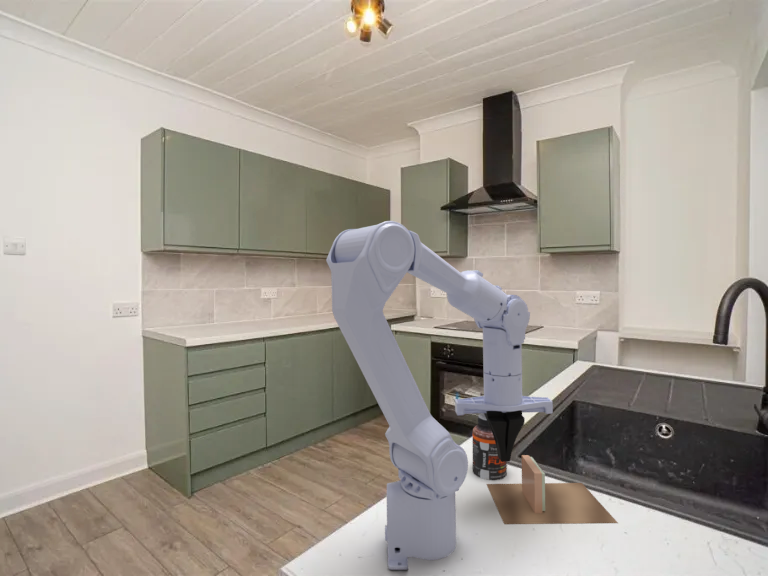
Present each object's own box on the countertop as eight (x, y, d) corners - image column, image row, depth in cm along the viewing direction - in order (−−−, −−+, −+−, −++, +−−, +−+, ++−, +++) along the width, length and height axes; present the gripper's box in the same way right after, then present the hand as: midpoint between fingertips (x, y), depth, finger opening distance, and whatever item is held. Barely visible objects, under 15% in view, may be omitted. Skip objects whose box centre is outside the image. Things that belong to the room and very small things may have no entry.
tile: (534, 513, 60) (534, 473, 60) (522, 491, 66) (521, 455, 66) (545, 513, 60) (545, 473, 60) (531, 491, 66) (531, 455, 66)
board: (504, 532, 58) (504, 523, 58) (486, 490, 69) (486, 483, 69) (618, 531, 57) (618, 522, 57) (581, 489, 68) (581, 482, 68)
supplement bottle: (490, 490, 69) (490, 424, 68) (465, 476, 74) (464, 415, 73) (514, 480, 72) (513, 417, 72) (488, 467, 77) (487, 408, 77)
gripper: (540, 364, 66) (541, 446, 67) (451, 366, 67) (453, 448, 67) (558, 375, 59) (559, 467, 60) (458, 377, 60) (460, 468, 60)
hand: (503, 458), depth 63 cm, fingers closed
